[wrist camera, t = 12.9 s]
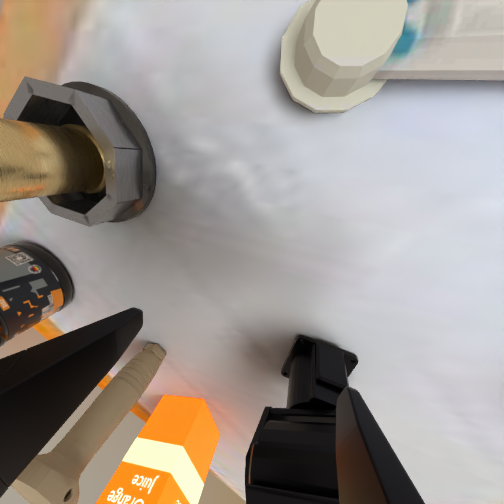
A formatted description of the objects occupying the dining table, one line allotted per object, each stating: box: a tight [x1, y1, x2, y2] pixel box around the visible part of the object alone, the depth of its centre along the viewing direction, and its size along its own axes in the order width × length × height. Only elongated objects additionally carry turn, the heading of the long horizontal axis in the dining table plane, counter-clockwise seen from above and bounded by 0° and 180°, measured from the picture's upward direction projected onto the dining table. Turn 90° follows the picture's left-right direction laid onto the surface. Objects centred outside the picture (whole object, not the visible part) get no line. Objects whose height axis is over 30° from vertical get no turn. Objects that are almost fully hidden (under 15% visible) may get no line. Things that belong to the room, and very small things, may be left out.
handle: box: [11, 343, 166, 504], centre depth 24 cm, size 5×6×15 cm
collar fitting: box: [3, 77, 156, 227], centre depth 19 cm, size 12×12×4 cm
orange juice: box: [96, 395, 220, 504], centre depth 26 cm, size 8×9×20 cm
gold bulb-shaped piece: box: [0, 118, 106, 202], centre depth 16 cm, size 6×6×10 cm
